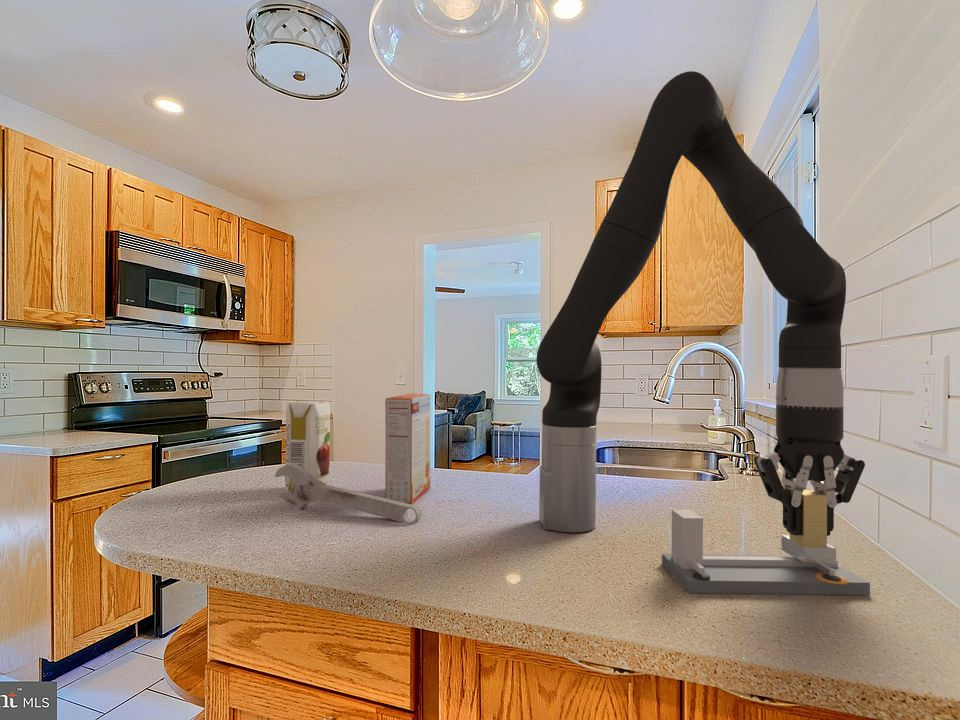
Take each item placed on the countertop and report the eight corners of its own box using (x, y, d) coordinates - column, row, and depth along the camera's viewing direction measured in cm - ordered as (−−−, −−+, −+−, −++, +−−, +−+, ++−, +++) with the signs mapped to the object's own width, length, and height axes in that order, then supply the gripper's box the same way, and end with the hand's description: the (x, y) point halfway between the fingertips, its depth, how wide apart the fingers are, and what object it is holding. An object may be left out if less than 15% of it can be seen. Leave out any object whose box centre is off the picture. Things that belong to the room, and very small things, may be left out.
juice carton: (280, 494, 108) (281, 402, 108) (300, 485, 116) (302, 400, 116) (314, 496, 106) (315, 403, 107) (332, 487, 115) (334, 401, 115)
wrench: (414, 541, 89) (271, 504, 98) (418, 538, 91) (277, 501, 100) (419, 495, 89) (276, 462, 98) (424, 492, 90) (282, 460, 100)
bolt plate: (690, 595, 62) (691, 528, 62) (661, 564, 72) (662, 506, 72) (874, 597, 62) (874, 530, 62) (821, 566, 72) (821, 508, 72)
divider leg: (815, 575, 64) (816, 501, 64) (781, 554, 71) (781, 487, 71) (848, 575, 64) (848, 502, 64) (810, 554, 71) (811, 488, 71)
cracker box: (404, 487, 116) (406, 393, 116) (431, 488, 115) (432, 393, 115) (382, 503, 102) (384, 396, 102) (412, 505, 101) (413, 397, 101)
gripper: (771, 404, 65) (770, 542, 65) (884, 405, 65) (883, 544, 65) (741, 400, 72) (740, 524, 72) (842, 401, 72) (841, 526, 72)
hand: (808, 533), depth 68 cm, fingers open, 3 cm apart
